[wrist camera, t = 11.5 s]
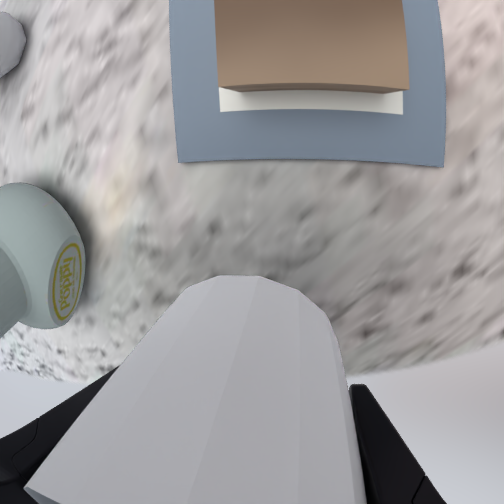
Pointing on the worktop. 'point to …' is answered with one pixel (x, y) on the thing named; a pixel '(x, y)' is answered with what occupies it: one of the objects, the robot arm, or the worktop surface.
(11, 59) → the salt shaker
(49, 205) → the air freshener
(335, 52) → the walnut block
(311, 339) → the white cup
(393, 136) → the board
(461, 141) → the worktop surface
